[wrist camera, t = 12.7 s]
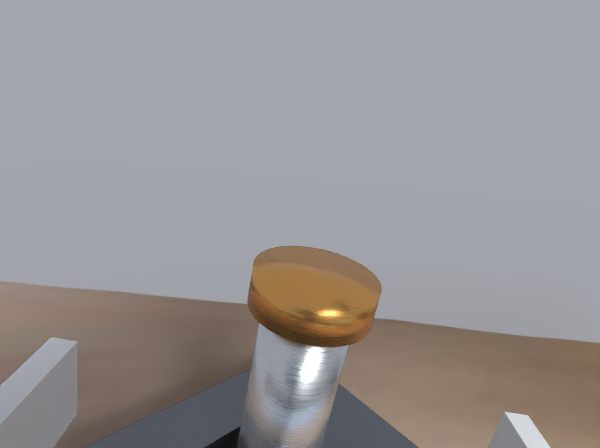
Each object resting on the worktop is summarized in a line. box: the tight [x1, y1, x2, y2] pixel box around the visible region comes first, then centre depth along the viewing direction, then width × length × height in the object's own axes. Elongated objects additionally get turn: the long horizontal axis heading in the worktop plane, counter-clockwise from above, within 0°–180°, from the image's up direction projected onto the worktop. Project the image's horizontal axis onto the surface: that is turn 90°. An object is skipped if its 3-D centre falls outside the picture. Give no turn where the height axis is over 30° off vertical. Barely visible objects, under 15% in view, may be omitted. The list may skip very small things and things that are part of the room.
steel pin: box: [237, 246, 382, 448], centre depth 16 cm, size 5×5×13 cm
